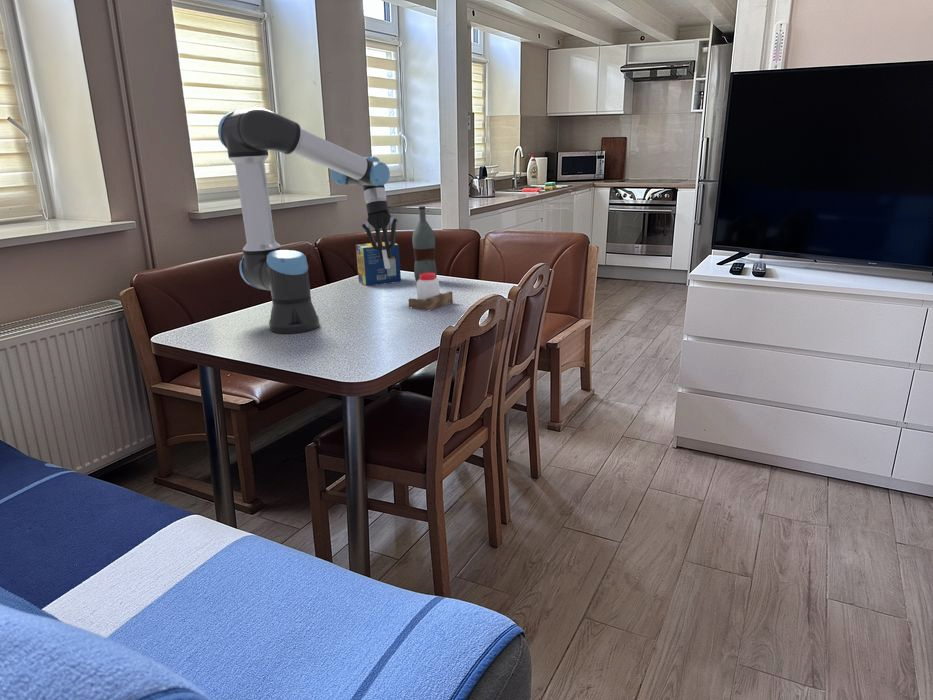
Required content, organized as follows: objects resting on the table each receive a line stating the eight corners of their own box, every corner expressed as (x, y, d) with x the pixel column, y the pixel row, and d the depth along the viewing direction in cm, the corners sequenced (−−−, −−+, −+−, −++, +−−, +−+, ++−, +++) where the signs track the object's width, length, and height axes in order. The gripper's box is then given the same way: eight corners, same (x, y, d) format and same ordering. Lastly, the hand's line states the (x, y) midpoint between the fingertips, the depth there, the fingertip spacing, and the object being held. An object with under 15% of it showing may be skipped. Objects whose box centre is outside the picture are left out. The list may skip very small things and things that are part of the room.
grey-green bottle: (434, 284, 262) (430, 207, 253) (412, 284, 264) (407, 208, 255) (439, 279, 271) (436, 205, 262) (418, 279, 272) (413, 205, 264)
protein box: (358, 282, 272) (355, 244, 268) (393, 277, 279) (390, 241, 274) (365, 286, 263) (362, 247, 259) (401, 281, 269) (399, 243, 265)
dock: (429, 310, 219) (428, 299, 218) (408, 307, 225) (407, 296, 223) (452, 302, 229) (452, 291, 228) (432, 300, 235) (431, 289, 233)
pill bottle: (440, 307, 223) (438, 275, 220) (417, 308, 223) (415, 276, 220) (439, 302, 231) (438, 271, 228) (417, 303, 230) (416, 272, 227)
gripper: (396, 200, 236) (407, 265, 237) (361, 207, 237) (372, 271, 238) (392, 197, 229) (403, 264, 230) (356, 203, 230) (367, 270, 231)
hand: (387, 268), depth 234 cm, fingers closed
